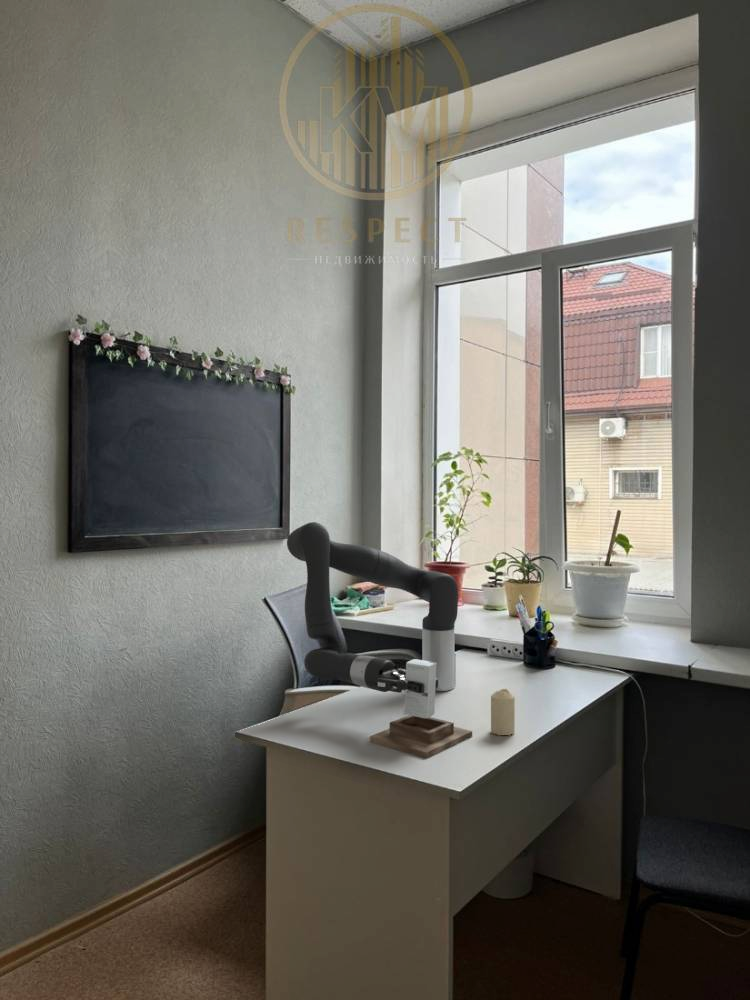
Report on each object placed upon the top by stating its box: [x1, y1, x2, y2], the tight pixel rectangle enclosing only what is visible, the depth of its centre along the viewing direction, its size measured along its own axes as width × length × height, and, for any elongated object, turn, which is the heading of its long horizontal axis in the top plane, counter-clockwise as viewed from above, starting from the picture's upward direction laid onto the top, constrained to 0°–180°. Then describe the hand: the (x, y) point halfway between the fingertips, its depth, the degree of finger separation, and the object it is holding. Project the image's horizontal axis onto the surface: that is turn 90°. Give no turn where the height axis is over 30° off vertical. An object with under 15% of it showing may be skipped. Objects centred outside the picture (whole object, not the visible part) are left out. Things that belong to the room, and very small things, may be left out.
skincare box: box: [403, 658, 436, 718], centre depth 169 cm, size 6×4×12 cm
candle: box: [490, 688, 516, 736], centre depth 174 cm, size 6×6×10 cm
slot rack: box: [369, 715, 473, 759], centre depth 169 cm, size 18×16×4 cm
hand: (430, 686), depth 167 cm, fingers closed on skincare box, 5 cm apart
